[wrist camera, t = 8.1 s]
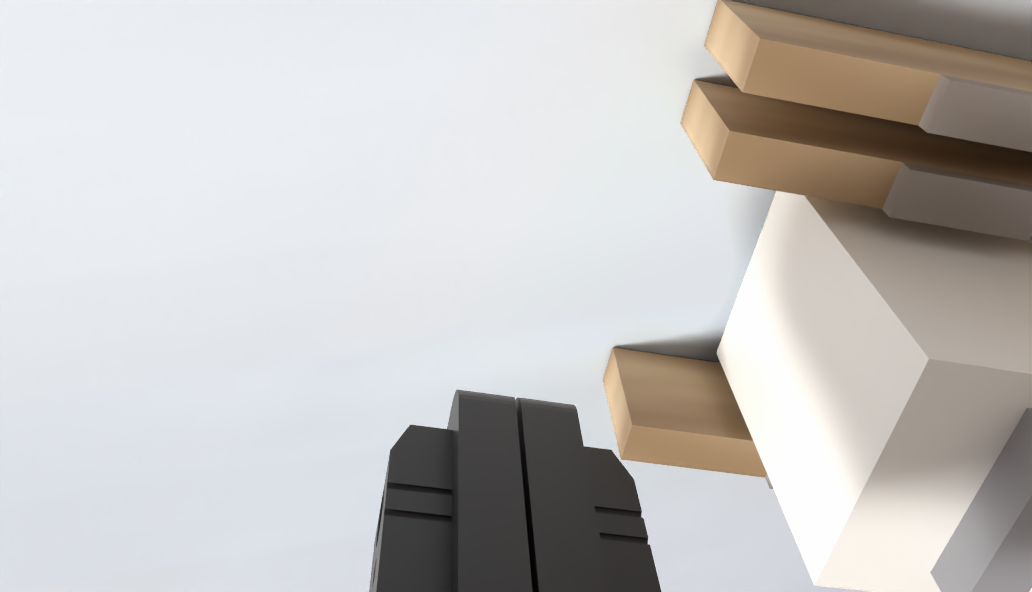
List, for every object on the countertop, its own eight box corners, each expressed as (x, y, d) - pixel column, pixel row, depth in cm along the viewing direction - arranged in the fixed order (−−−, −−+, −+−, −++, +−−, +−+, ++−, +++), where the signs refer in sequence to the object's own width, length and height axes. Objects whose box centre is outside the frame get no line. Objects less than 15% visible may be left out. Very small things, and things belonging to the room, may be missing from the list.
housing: (693, 79, 16) (734, 138, 14) (1381, 209, 18) (1523, 279, 16) (602, 379, 19) (623, 470, 17) (1198, 461, 21) (1292, 553, 19)
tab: (783, 169, 17) (958, 397, 11) (987, 205, 17) (1257, 440, 11) (716, 353, 19) (832, 630, 13) (900, 380, 19) (1093, 657, 13)
